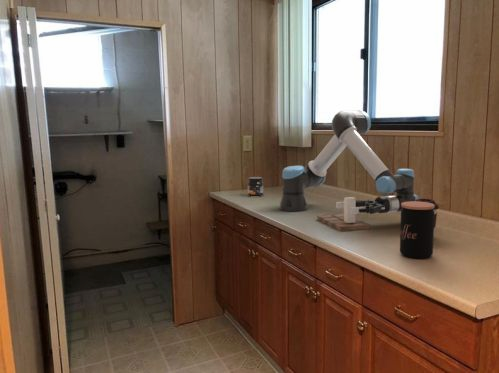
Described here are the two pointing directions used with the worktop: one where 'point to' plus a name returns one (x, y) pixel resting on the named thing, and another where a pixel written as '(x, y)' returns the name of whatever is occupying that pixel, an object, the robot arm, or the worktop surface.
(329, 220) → the board
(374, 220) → the worktop surface
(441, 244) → the worktop surface
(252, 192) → the supplement container
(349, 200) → the fader tab
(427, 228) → the coffee jar
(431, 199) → the coffee cup
